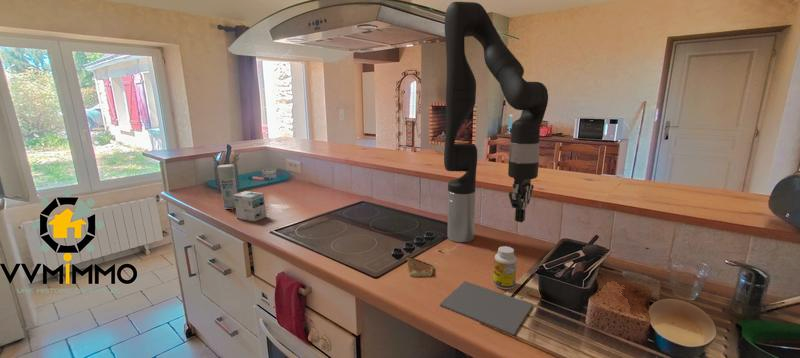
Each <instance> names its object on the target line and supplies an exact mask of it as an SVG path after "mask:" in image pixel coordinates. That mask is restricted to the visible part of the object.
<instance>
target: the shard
mask: <svg viewBox="0 0 800 358" xmlns="http://www.w3.org/2000/svg"><path fill="white" fill-rule="evenodd" d="M406 259H407V269H408V273H409V277H411V278H413V277H415V278H416V277H431V276H432V275H433V273H434V271H433V270H434V269H435V266H434V265H433V264H430V263H427V262H426V261H423V260H420V259H416V258H414V257H411V256H409V255H407V256H406Z"/></svg>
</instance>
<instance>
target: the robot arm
mask: <svg viewBox="0 0 800 358" xmlns="http://www.w3.org/2000/svg"><path fill="white" fill-rule="evenodd" d="M444 15H445V16H444V40H445V41H444V42H445V52H446V82H445V83H446V85H445V117H446V118H445V120H446V122H445V123H446V124H445V138H444V139H445V140H444V151H443V153H444V154H443V163H444V164H443V165H444V168H445V170H446V171H447V172H465V173H464V174H463V175H462V176H460V177H457V178H455V179H453V180H450V181H449V182H448V184H447V239H448V240H450V241H452V242H455V243H468V242H471V241H473V240H474V238H475V222H476V221H475V219H476V218H475V217H476V216H475V214H476V184H477V183H476V180H477V179H476V178H477V168H478V167H477V165H478V156H479V155H478V148H477V146H476V145H475V144H474V143H456V139H457V136H458V134H459V132H460V129H461V127H462V126H463V124H464V123H465V122H466V120H467V118H468V117H469V116H470V115H471V113H472V112H473V109H474V107H475V106H476V100H477V99H476V96H477V80H476V77H475V75H474V72H473V70H472V68H471V67H470V63H469V61H468V59H467V57H466V51H465V50H466V49H465V38H467V37H473V38H474V39H475V40H476V41H478V42H479V43H480V45H481V47H482V48H483V55H484V56H483V57H484V62H485V65H486V68H487V69H488V70H489V73H491V74H492V76H493V77H494V78H495V80H496V81H497V82H498V84H499V86H500V89H501V91H502V94H503V96H504V98H505V101H506V102H507V103H508V105H509V106H510V107H511V108H513V109H514V110H516V111H521V113H520V114H521V115H520V117H519V118H517V119H516V120H515V121H513V122H512V125H511V132H510V146H509V149H508V150H509V151H508V152H509V153H508V156H509V157H508V167H507V175H508V176H509V177H510V178H513V184H512V188H511V189H512V190H511V191H512V192H509V193H508V198H509V201H510V205H511V207H512V208H513V209H515V212H514V213H515V216H514V217H515V218H514V221H515V222H517V223H523V222H524V221H526V209H527V207H528V205H529V204H530V201H531V197H532V193H533V190H534V184H532V183H531V182H532V180H533V179H537V178H538V176H539V165H540V163H539V162H540V136H541V135H540V134H541V125H542V123H543V120H544V117H545V113H546V111H547V107H548V103H549V93H548V89H547V86H546V85H545V84H543V83H542V82H540V81H527V80H525V79H524V74H525V69H524V66H523V65H522V63H521V62H520V61H519V60H518V59H517V57H516V56H515V55H514V54H513V53H512V51H511V50H510V49H509V48H508V47H507V45H506V44H505V42H504V41H503V39H502V38H501V36H500V34H499V33H498V30H497V29H496V27H495V25H494V23H493V22H492V19H491V17H490V15H489V14H488V12H487V11H486V9H485V7H484V6H482V5H481V4H480V3H479V2H476V1H474V2H473V1H453V2H451V3H450V4H449V5H448V6H447V8H446V10H445V14H444Z"/></svg>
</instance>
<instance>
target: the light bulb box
mask: <svg viewBox="0 0 800 358" xmlns="http://www.w3.org/2000/svg"><path fill="white" fill-rule="evenodd" d="M234 201H235V208H236V209H235V213H236V214H235V215H236V219H237V218H239V219H238V220H244V221H249V222H253V221H254V223H255V222H257V221H260V220H262V219H264V218H267V210H266V202H265V194H264V192H255V191H249V190H247V191H246V190H245V191H242V192H237V194H234Z"/></svg>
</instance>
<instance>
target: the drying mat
mask: <svg viewBox="0 0 800 358" xmlns="http://www.w3.org/2000/svg"><path fill="white" fill-rule="evenodd" d="M533 306H534V304H533V303H530V302H528V301H525V300H522V299H519V298H516V297H513V296H510V295H507V294H504V293H502V292H499V291H495V290H493V289H490V288H487V287H484V286H480V285H477V284H476V283H475V284H474V283H472V282H469V281H466V280H464V281H463V282H462V283H461V284H460V285H459V286H458V287H457V288H456V289H454V290H453V291H452V292H451V293H450V294H449V295H448V296H447V297H446V298H445V299H444V300H442V301H441V303H439V307H441V308H444V309H447V310H450V311H451V312H455V313H457V314H459V315H461V316H464V317H467V318H469V319H470V320H473V321H477V322H479V323H481V324H484V325H486V326H489V327H491V328H494V329H496V328H497V329H496V330H498V329H500V330H499V331H501V330H502V331H501V332H503V331H504V333H506V334H508V335H511V336H515V334H516V333H515V332H517V331H518V330H519V328H520V326H521V325H522V324H523V322H524V320H525V318H526V317H528V314H529V313H530V311H531V310H532V308H533Z"/></svg>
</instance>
